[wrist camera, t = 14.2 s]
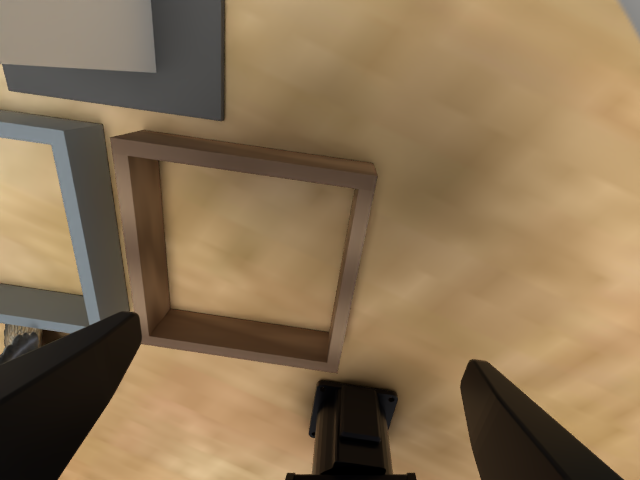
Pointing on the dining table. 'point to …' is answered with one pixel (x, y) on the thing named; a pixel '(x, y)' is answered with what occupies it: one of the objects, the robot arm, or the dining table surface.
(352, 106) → the dining table surface
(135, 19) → the letter block
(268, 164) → the frame
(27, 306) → the frame
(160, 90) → the dark grey flat slab
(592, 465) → the robot arm
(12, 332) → the eagle figurine
